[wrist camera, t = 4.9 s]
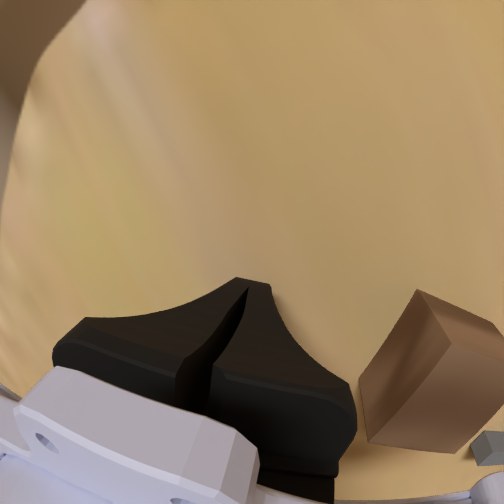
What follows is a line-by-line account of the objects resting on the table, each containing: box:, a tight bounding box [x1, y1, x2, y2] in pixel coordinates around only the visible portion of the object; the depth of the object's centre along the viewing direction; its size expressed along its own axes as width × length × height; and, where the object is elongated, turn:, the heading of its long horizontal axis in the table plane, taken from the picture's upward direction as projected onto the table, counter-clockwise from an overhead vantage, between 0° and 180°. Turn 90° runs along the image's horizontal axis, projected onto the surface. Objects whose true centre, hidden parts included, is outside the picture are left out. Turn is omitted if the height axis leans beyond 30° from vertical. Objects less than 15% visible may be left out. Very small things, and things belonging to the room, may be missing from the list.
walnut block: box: [359, 289, 504, 454], centre depth 10 cm, size 5×5×4 cm
